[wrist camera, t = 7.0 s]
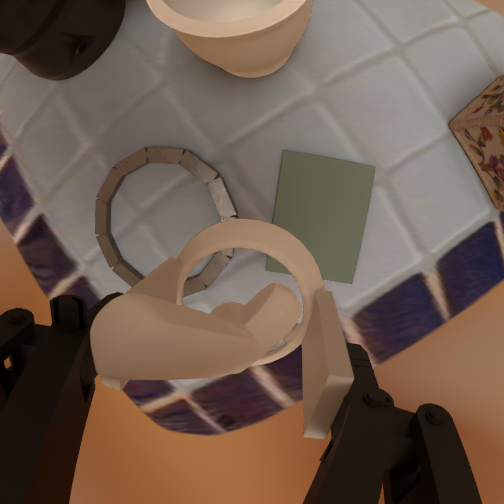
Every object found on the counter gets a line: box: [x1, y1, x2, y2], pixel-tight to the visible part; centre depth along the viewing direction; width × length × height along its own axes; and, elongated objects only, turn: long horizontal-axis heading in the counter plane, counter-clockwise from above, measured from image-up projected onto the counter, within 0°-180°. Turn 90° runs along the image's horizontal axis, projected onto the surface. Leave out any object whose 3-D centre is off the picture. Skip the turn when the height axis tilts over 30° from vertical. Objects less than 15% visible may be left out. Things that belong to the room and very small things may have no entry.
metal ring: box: [95, 147, 238, 297], centre depth 32 cm, size 16×16×1 cm
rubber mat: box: [266, 150, 375, 284], centre depth 30 cm, size 12×9×1 cm
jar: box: [146, 0, 312, 78], centre depth 19 cm, size 11×10×15 cm
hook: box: [90, 219, 323, 380], centre depth 12 cm, size 8×12×7 cm
